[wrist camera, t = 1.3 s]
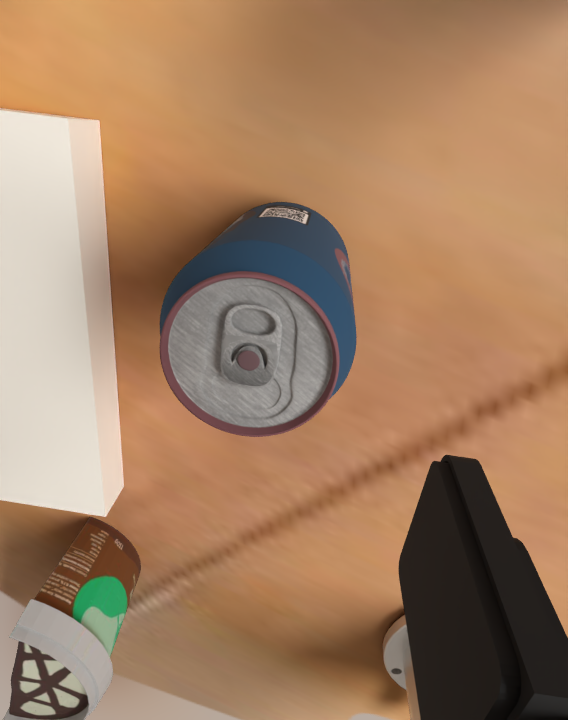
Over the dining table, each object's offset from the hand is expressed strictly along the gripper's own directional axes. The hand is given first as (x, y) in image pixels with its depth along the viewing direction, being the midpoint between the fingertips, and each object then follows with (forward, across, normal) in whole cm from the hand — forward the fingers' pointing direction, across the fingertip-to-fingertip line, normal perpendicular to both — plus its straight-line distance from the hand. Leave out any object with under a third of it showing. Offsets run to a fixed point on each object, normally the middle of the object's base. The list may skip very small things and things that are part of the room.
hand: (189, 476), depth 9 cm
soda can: (+18, 0, +1) cm, 18 cm away
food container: (+18, +11, +28) cm, 34 cm away
